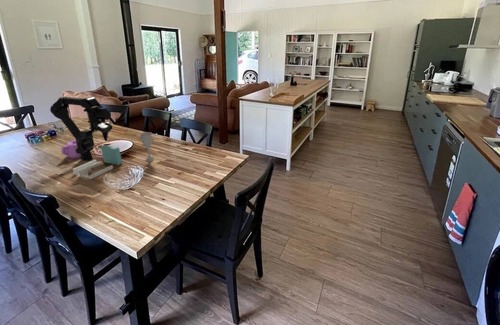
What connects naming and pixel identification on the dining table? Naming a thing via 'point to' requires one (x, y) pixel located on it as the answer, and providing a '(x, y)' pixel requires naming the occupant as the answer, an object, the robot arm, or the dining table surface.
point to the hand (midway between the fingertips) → (99, 143)
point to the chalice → (147, 143)
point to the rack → (87, 167)
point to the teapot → (71, 150)
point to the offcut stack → (96, 169)
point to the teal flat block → (111, 154)
